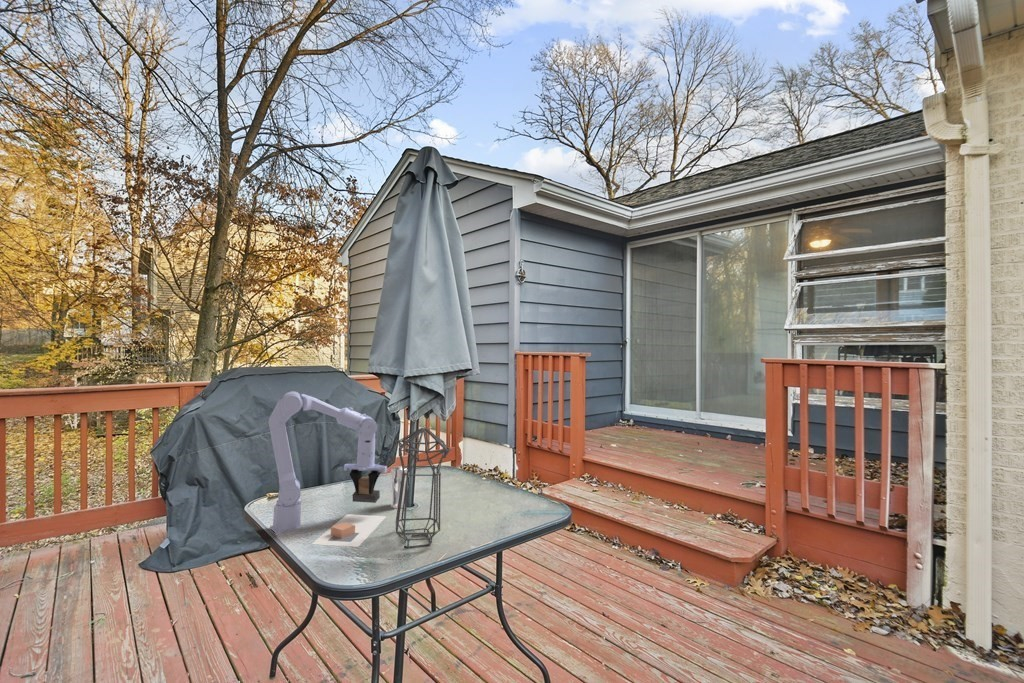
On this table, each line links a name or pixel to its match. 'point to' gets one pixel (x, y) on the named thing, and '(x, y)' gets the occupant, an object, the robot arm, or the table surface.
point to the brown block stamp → (365, 492)
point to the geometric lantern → (445, 452)
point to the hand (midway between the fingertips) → (364, 492)
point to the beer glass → (396, 485)
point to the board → (362, 531)
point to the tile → (342, 530)
